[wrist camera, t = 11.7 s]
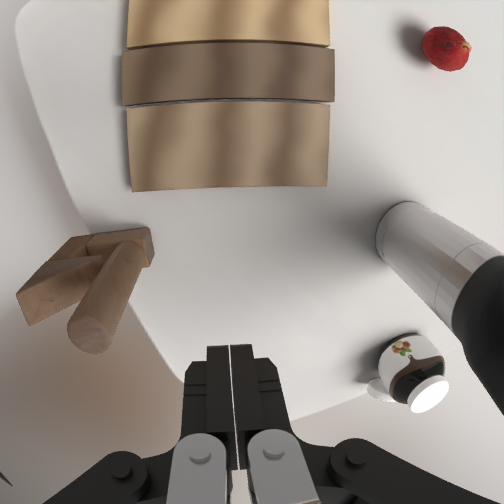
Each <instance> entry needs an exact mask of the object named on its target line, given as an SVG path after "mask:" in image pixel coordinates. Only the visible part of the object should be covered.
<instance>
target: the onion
mask: <svg viewBox="0 0 504 504" xmlns="http://www.w3.org/2000/svg"><path fill="white" fill-rule="evenodd" d="M422 49H423V52H424V54H425V56H426V58H427V59H428V60H429V61H430V62H431V63H432V64H433V65H434V66H436V67H437V68H439V69H441V70H445V71H455V70H459V69H461V68H463V67H464V65H465V64H466V63H467V61H468V57H469V52H470V51H471V46H470V44H469V43H468V42H466V41H465V39H464V37H463V36H462V35H461V34H459V33H458V32H457V31H456V30H454V29H451V28H449V27H434V28H432V29H430V30H429V31H428V32H426V34H425V36H424V38H423V41H422Z"/></svg>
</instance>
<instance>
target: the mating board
mask: <svg viewBox="0 0 504 504" xmlns="http://www.w3.org/2000/svg"><path fill="white" fill-rule="evenodd" d="M334 96H335V54H334V49H328V48H320V47H311V46H300V45H288V44H271V43H201V44H184V45H172V46H162V47H153V48H144V49H137V50H130V51H124V52H122V106H132V105H141V104H150V103H161V102H173V101H187V100H206V99H285V100H305V101H319V102H334Z"/></svg>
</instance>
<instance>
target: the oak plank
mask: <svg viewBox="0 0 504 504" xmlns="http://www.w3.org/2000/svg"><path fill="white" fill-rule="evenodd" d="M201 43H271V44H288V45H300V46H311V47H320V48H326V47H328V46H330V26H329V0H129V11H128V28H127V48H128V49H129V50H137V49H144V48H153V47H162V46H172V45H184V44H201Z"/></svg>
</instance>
